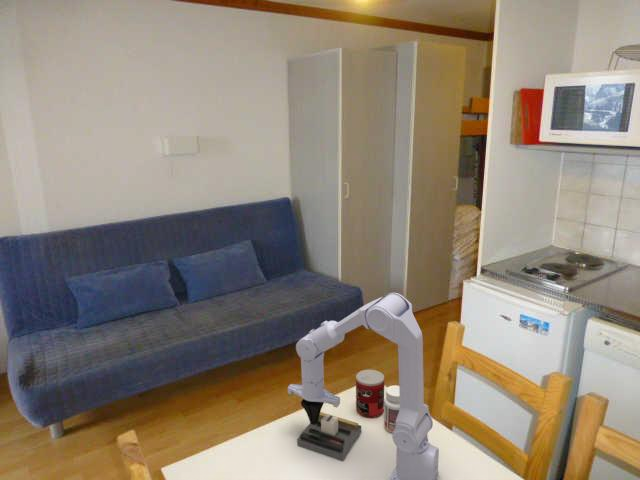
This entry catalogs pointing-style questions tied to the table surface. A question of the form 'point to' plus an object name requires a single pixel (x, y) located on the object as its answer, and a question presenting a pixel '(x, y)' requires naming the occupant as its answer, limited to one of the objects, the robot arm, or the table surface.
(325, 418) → the block
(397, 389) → the pill bottle
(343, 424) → the breaker panel
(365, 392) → the canned food
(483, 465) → the table surface
